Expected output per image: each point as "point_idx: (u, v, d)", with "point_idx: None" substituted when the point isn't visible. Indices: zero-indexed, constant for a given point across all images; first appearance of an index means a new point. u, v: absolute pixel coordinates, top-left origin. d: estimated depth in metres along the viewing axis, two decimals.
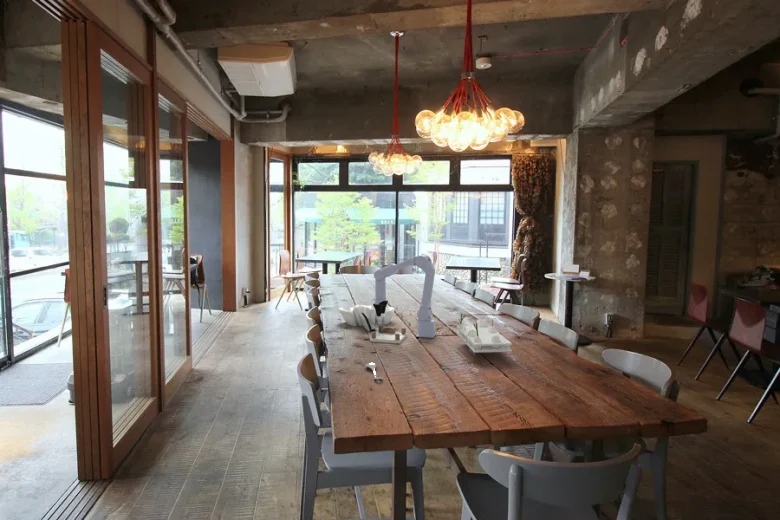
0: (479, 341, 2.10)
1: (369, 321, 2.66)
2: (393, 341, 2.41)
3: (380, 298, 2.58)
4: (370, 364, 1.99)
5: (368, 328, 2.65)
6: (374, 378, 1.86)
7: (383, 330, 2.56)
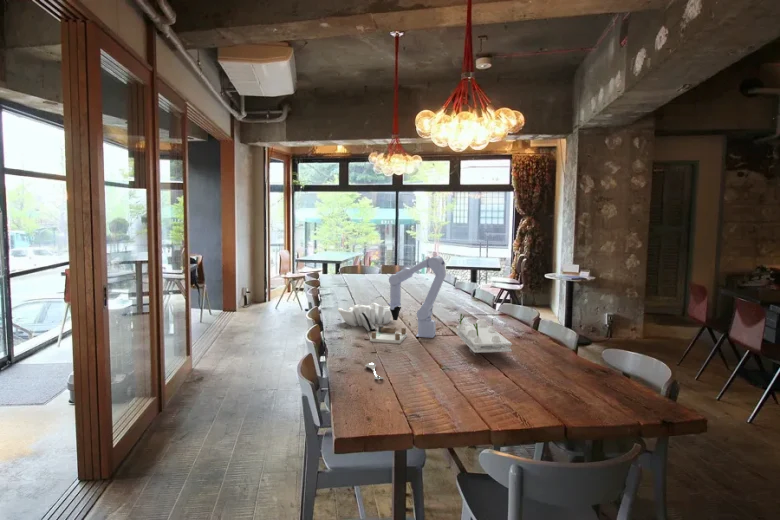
0: (479, 341, 2.10)
1: (369, 321, 2.66)
2: (393, 341, 2.41)
3: (395, 303, 2.58)
4: (370, 364, 1.99)
5: (368, 328, 2.66)
6: (375, 378, 1.86)
7: (383, 330, 2.56)
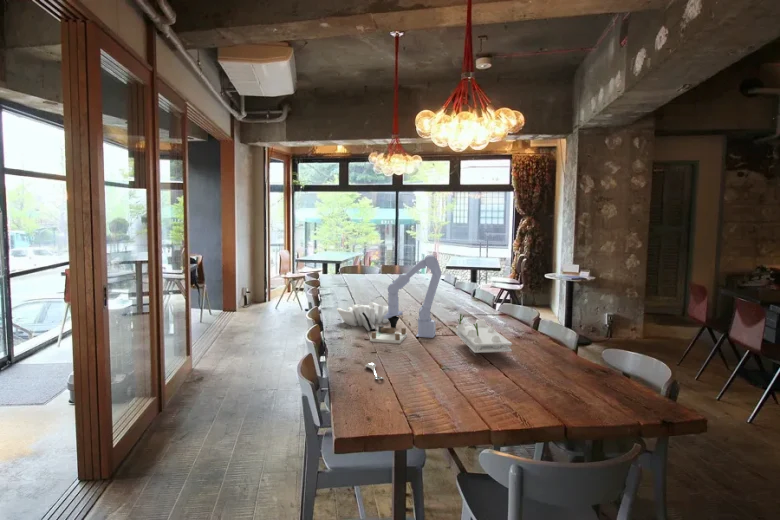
0: (479, 341, 2.10)
1: (369, 321, 2.66)
2: (393, 341, 2.41)
3: (391, 313, 2.53)
4: (370, 364, 1.99)
5: (368, 328, 2.66)
6: (375, 378, 1.86)
7: (383, 330, 2.56)
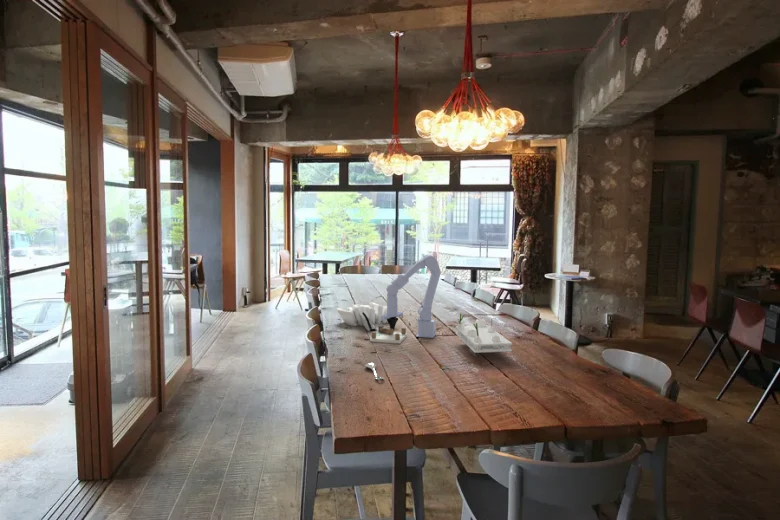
0: (479, 341, 2.10)
1: (369, 321, 2.66)
2: (393, 341, 2.41)
3: (389, 314, 2.51)
4: (370, 364, 1.99)
5: (368, 328, 2.66)
6: (375, 378, 1.86)
7: (381, 330, 2.55)
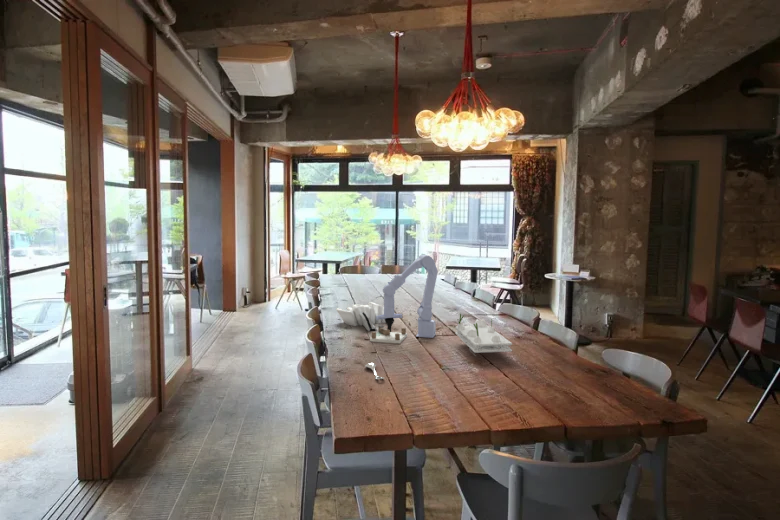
0: (479, 341, 2.10)
1: (369, 321, 2.66)
2: (393, 341, 2.41)
3: (384, 314, 2.50)
4: (370, 364, 1.99)
5: (368, 328, 2.66)
6: (376, 378, 1.86)
7: (380, 330, 2.55)
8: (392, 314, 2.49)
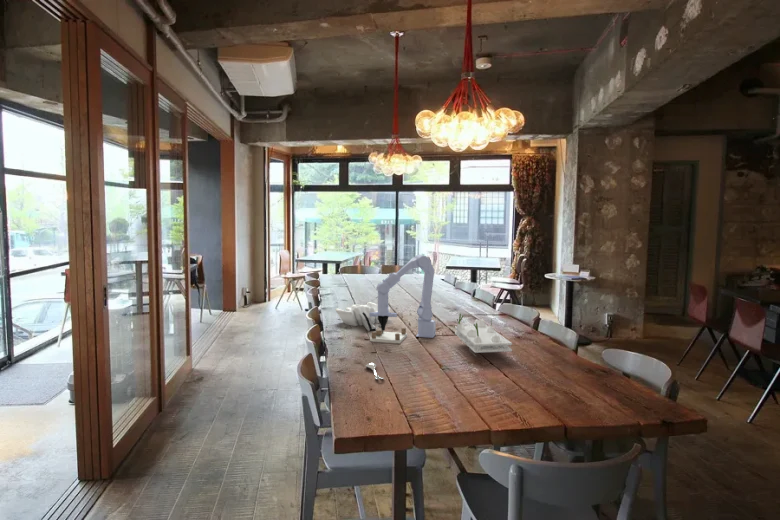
0: (479, 341, 2.10)
1: (369, 321, 2.67)
2: (393, 341, 2.41)
3: (377, 312, 2.49)
4: (370, 364, 1.98)
5: (368, 328, 2.66)
6: (375, 378, 1.86)
7: None
8: (384, 312, 2.47)
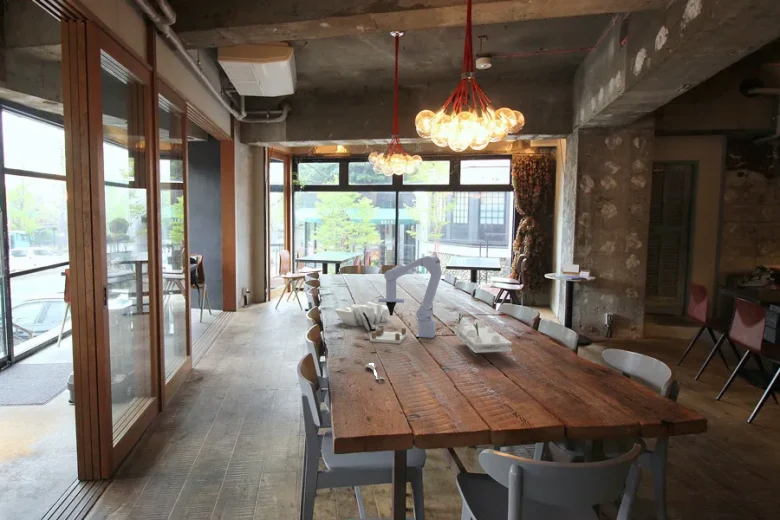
0: (480, 341, 2.10)
1: (369, 321, 2.67)
2: (393, 341, 2.41)
3: (386, 298, 2.63)
4: (370, 364, 1.98)
5: (368, 327, 2.67)
6: (376, 378, 1.85)
7: None
8: (392, 298, 2.61)
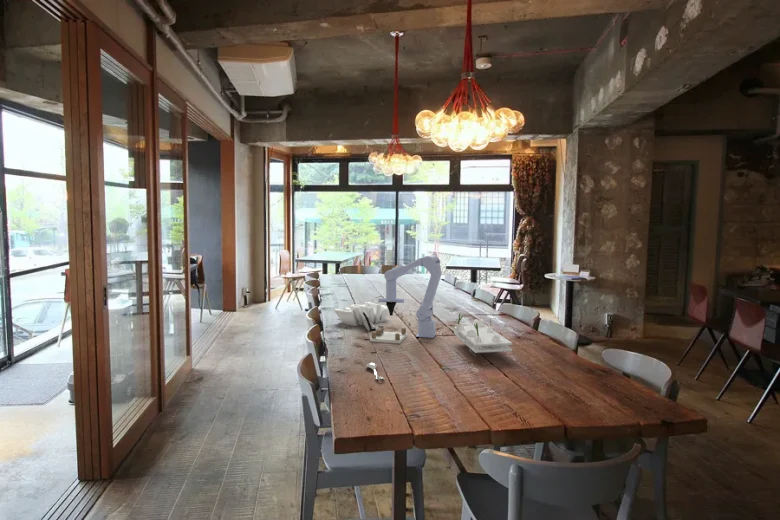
0: (480, 341, 2.10)
1: (369, 320, 2.67)
2: (393, 341, 2.41)
3: (386, 298, 2.63)
4: (371, 364, 1.98)
5: (368, 327, 2.67)
6: (375, 378, 1.85)
7: None
8: (392, 298, 2.61)
